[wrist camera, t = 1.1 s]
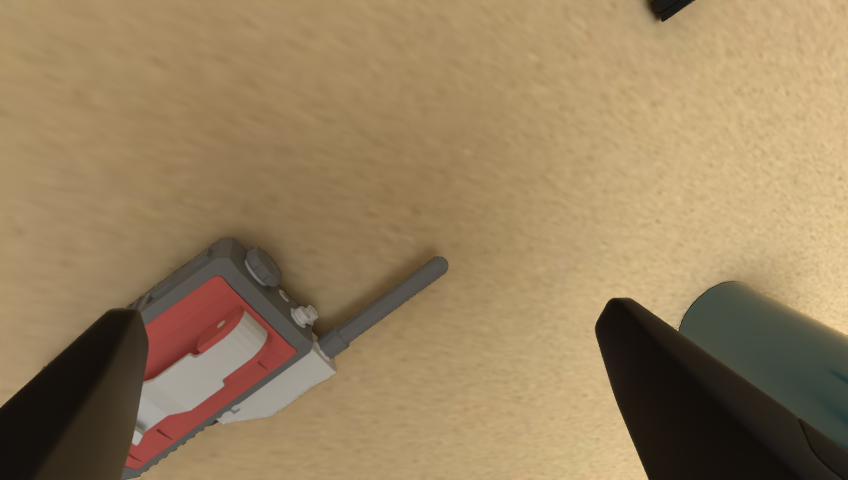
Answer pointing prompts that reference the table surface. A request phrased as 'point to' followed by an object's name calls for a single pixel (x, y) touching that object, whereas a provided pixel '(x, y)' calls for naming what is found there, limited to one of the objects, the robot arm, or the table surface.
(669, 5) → the electric trimmer
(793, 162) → the table surface
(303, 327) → the walkie-talkie
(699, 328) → the mug
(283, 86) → the table surface
